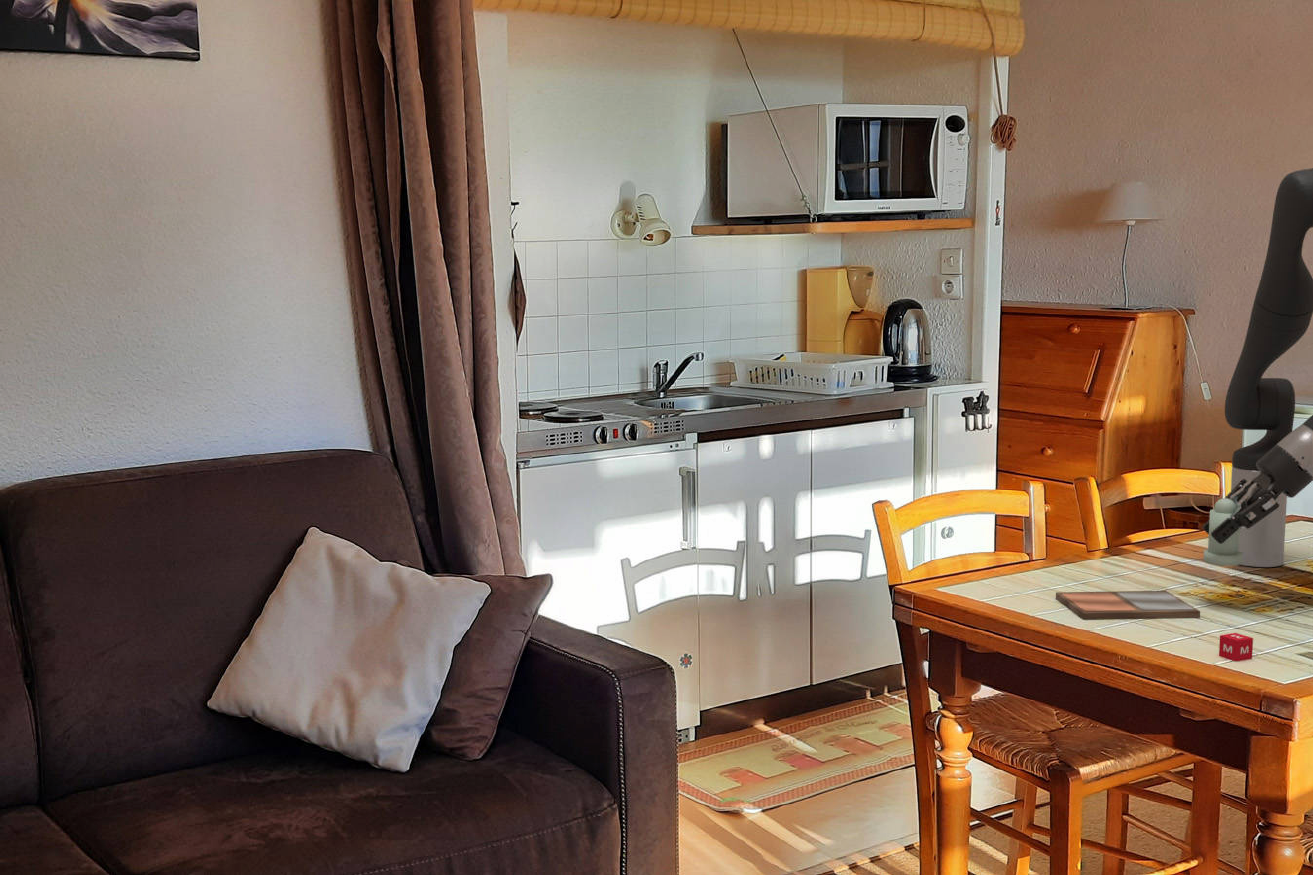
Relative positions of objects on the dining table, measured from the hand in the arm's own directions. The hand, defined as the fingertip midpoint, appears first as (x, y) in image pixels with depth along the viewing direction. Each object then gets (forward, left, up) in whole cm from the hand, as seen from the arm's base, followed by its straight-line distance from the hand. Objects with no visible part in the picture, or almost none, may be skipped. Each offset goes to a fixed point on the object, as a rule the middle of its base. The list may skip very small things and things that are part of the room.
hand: (1211, 535), depth 213 cm
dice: (+27, -8, -12) cm, 31 cm away
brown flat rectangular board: (0, -13, -11) cm, 17 cm away
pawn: (0, +2, -4) cm, 5 cm away
